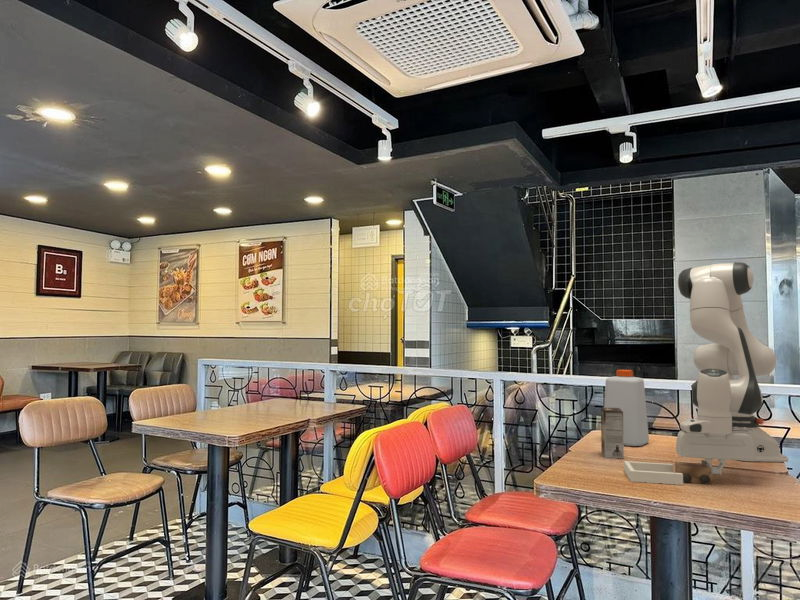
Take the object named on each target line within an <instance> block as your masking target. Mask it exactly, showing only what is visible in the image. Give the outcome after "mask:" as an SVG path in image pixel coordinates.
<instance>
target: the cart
mask: <svg viewBox="0 0 800 600" xmlns="http://www.w3.org/2000/svg"><path fill="white" fill-rule="evenodd" d="M674 466H675V467H674V469H675V470H674V471H675V472H674V473H682V474H683V483H686V484H687V483H689V482H692V483H691V484H702V483H704V484H707V485H712V474H711V468H710V467H709V464H708V463H707V462H705V459H704V460H703V459H702V460H701V462H700V463H699V462H685V461H684V462H683V461H681V462H679V461H675V462H674ZM689 484H690V483H689ZM704 484H703V485H704Z"/></svg>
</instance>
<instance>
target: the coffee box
mask: <svg viewBox="0 0 800 600" xmlns="http://www.w3.org/2000/svg"><path fill="white" fill-rule="evenodd" d="M600 433H601V434H600V437H601V441H600V442H601V443H600V444H601V445H600V447H601V451H600V452H601V454H602V456H603V457H604V458H605V459H613V458H619V460H624V456H625V455H624V446H623V411H622V410H621V409H620V408H604V407H600ZM620 458H621V459H620Z"/></svg>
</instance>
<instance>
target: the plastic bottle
mask: <svg viewBox="0 0 800 600" xmlns="http://www.w3.org/2000/svg"><path fill="white" fill-rule="evenodd" d="M615 373H616V376H610V377H607V378H606V379H605V386H604V387H605V388H604V400H603V401H604V404H603V408H620V409H621V410H622V411H623V445H626V446H625V447H630V446H639V447H642V446H644V445H646V444H648V443H649V440H650V436H649V425H648V424H649V423H648V414H647V413H648V412H647V401H646V400H647V399H646V392H645V391H646V390H645V389H646V388H645V381H644V379H643V378H641V377H638V376H637V377H636V376H634V370H632V369H617V370H616V372H615Z"/></svg>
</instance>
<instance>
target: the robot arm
mask: <svg viewBox="0 0 800 600" xmlns="http://www.w3.org/2000/svg"><path fill="white" fill-rule="evenodd" d="M754 281H755V280H754V273H753V271H752V269H751V268H750V265H748V264H747V263H746V262H739V261H737V262H736V261H735V262H734V263H733V262H732V263H728V262H727V263H726V262H725V263H724V262H722V263H712V264H709V265H702V266H697V267H694V268H693V267H688V268H686V269H685V268H684V269H683V270H681V272H680V273H679V274H678V277H677V287H678V290H679V293H680V295H682V297H685V299H689V320H690V326H691V329H692V330H693V332H694V333H695V334H696V335H697V336H699V337H701V338H702V339H704V340H707V341H709V342H712V343H707V344H701V345H699V346H697V347H696V348H695V350H694V353H693V356H692V357H693V362H694V366H695V368H697V369H698V371H699V372H698V377H697V380H696V381H694V382H693V383H692V384H691V386H690V387H691V404H693V405H694V406H695V407H697V408H698V409H697V414H696V415H697V417H696V418H695V417H694V418H691V419H687V420H683V421H681V422H680V423H679V427H680V429H681V430H679V432H678V434H677V437H676V443H675V444H676V445H675V451H676V452H675V453H676V454H678V456H680V457H681V458H691V459H692V458H693V459H694V458H695V459H696V458H697V459H704V461H705V462H707V463H708V464H709V467H710V468H711V475H715V476H717V475H719V476H722V475H723V473H722V471H723V468H724V466H725V465H726V464H727V463H726V462H727V460H729V461H731V460H733V461H740V462H741V461H742V462H761V463H762V462H764V463H766V462H769V463H770V462H771V463H788V462H789V457H788V456H786V455H785V454H784V453H783V454H782V453H781V449H780V448H781V447H780V445H779V442H778V441H777V440H776V439H775V437H773V436H771V435H770V434H769V433H767V431H765V430H763V429H762V428H761V427H760V425H764V423H765V420H764V419H763V418H759V417H756V416H755V415H754V414H755V413H757V412H758V411H759V410H760V409H761V408H762V406H763V399H764V398H763V397H764V396H763V394H762V390H761V388H760V385H759V383H758V382H759V381H758V379H757V376H766V375H767V376H769V375H770V374H772V372H773V371H774V369H776V366H777V357H776V354H775V352H774V351H773V350H772V349H771V348H770V347H769V346H768V345H765V344H764V343H762V342H761V341H759V339H757V338H756V337H755V336H754V335H753V333H752V332H751V331H750V328H749V327H748V323H747V320H746V315H745V310H744V304H743V300H742V299H743V298H742V296H741V295H745V294H747V293H749V292H750V291H751V290H752V287H753V285H754V284H753V283H754ZM734 376H739V378H738V379H735V378H734ZM713 460H718V462H719V463H718V465H717V466H714V467H713V465H712V463H713Z"/></svg>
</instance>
